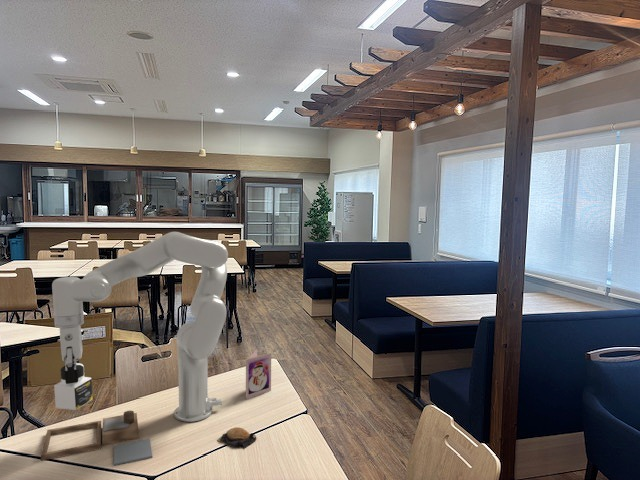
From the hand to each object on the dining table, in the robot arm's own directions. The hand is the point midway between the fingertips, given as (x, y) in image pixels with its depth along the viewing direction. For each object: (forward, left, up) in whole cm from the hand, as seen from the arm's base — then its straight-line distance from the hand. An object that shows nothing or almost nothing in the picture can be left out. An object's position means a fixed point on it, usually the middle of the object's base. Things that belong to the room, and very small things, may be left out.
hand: (72, 377), depth 134 cm
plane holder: (-5, 0, -20) cm, 20 cm away
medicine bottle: (0, 0, -8) cm, 8 cm away
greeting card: (-59, -12, -20) cm, 64 cm away
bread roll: (-45, +18, -21) cm, 53 cm away
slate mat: (-16, +13, -20) cm, 28 cm away
